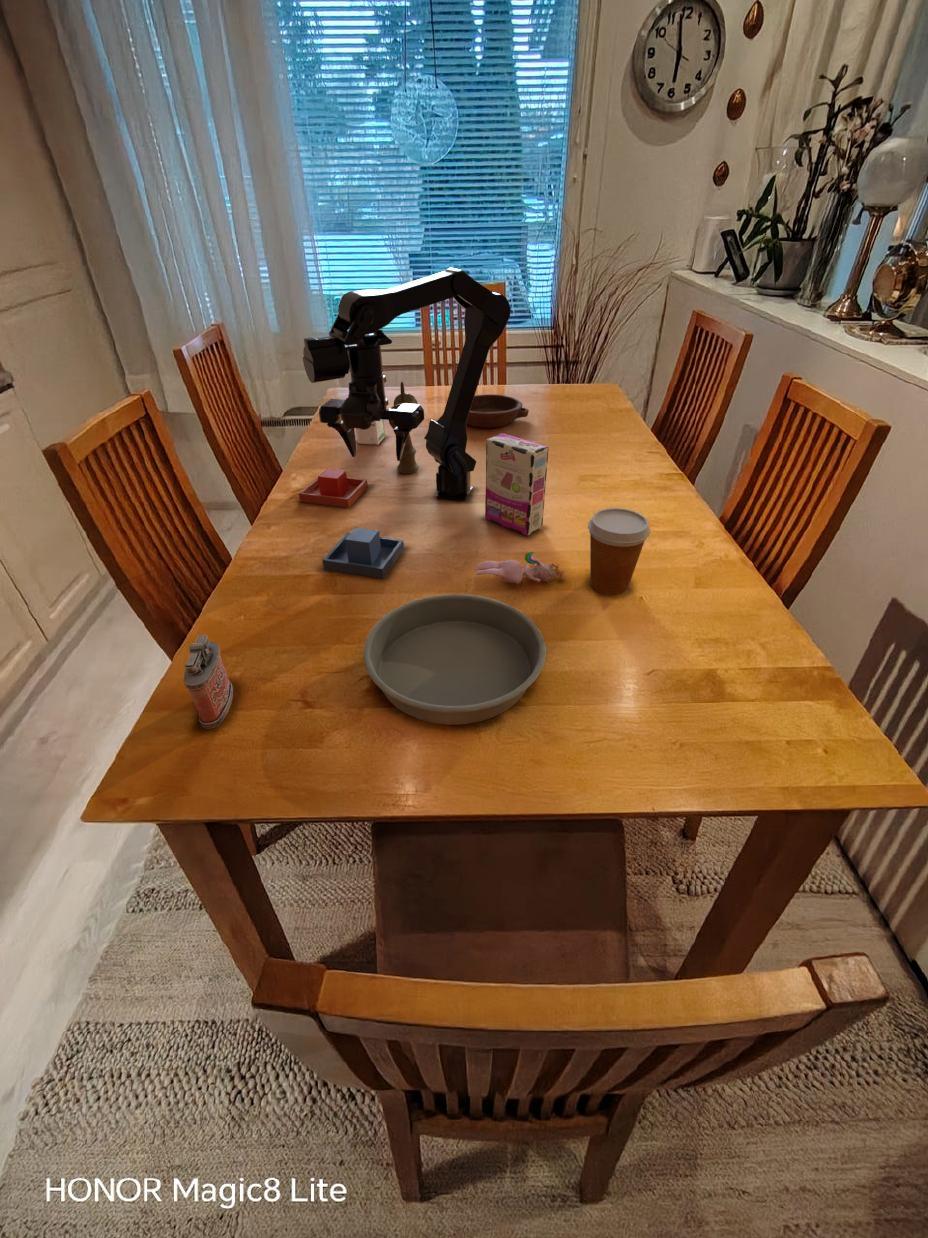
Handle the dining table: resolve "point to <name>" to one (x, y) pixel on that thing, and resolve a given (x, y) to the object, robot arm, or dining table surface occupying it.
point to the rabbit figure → (519, 570)
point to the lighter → (208, 682)
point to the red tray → (313, 496)
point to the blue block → (363, 546)
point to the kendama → (408, 455)
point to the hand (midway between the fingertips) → (376, 458)
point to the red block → (333, 482)
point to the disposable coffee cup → (615, 548)
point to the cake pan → (454, 657)
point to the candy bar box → (515, 483)
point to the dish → (494, 410)
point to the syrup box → (371, 433)
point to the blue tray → (379, 568)
